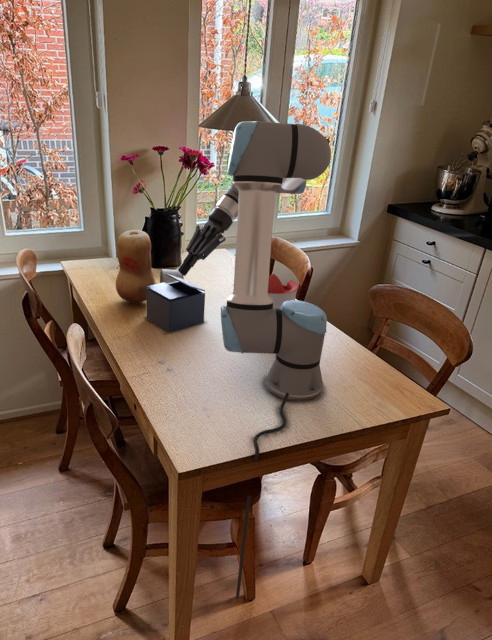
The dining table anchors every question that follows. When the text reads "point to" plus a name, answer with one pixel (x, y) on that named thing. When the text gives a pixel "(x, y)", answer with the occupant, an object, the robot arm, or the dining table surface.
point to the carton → (174, 305)
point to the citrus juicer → (281, 291)
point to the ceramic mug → (166, 278)
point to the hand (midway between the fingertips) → (181, 273)
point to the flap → (185, 282)
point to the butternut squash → (134, 266)
